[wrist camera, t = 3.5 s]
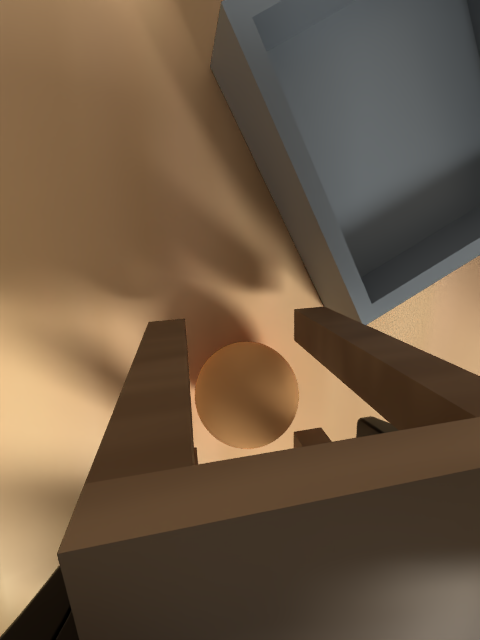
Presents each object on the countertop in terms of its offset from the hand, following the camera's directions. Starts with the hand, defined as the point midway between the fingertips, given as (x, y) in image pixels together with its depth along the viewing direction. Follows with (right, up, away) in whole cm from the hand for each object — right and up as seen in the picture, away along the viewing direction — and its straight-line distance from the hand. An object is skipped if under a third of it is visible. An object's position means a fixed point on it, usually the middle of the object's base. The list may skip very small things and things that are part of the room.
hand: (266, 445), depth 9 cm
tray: (+5, +11, +4) cm, 13 cm away
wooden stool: (-1, +1, +3) cm, 3 cm away
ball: (-1, +1, +3) cm, 3 cm away
